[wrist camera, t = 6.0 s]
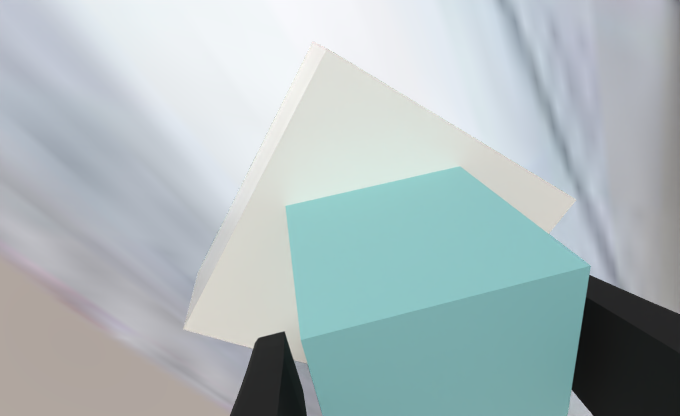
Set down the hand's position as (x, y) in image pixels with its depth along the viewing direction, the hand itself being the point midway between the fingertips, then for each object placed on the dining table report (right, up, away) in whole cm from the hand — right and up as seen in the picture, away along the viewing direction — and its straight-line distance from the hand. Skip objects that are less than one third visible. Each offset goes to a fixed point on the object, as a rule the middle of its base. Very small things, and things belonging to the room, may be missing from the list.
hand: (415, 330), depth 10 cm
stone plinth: (-1, +3, +5) cm, 6 cm away
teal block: (0, +1, +2) cm, 3 cm away
